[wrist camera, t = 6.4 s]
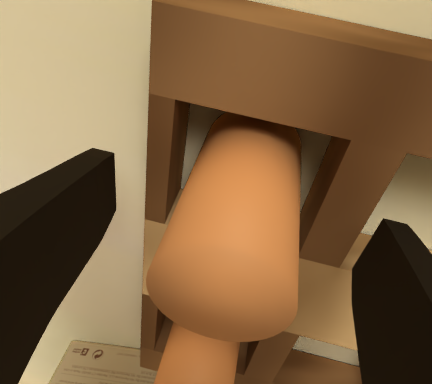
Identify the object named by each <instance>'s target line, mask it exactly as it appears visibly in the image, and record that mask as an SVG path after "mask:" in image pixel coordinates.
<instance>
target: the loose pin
mask: <svg viewBox="0 0 432 384" xmlns="http://www.w3.org/2000/svg"><path fill="white" fill-rule="evenodd" d="M300 185H301V142H300V138H299V135H298V133H297V131H296V129H295V128H294V127H292V126H287V125H283V124H279V123H274V122H270V121H266V120H262V119H257V118H253V117H249V116H244V115H240V114H236V113H231V112H226V113H224V114H223V115H221V116H220V117H219V118H218V119H217V120H216V121H215V122H214V123H213V125H212V126H211V128H210V130H209V132H208V135H207V137H206V139H205V142H204V144H203V146H202V148H201V151H200V153H199V155H198V158H197V160H196V162H195V164H194V167H193V169H192V171H191V174H190V176H189V178H188V180H187V183H186V185H185V187H184V190H183V192H182V194H181V196H180V199H179V201H178V203H177V206H176V208H175V210H174V212H173V215H172V217H171V219H170V221H169V224H168V226H167V228H166V231H165V233H164V235H163V237H162V240H161V242H160V244H159V247H158V249H157V251H156V253H155V256H154V258H153V260H152V263H151V265H150V267H149V269H148V272H147V276H146V287H147V291H148V294H149V296H150V298H151V300H152V301H153V303H154V304H155V305H156V307H157V308H158V309H159V310H160V311H161V312H162V313H163V314H164V315H165V316H166V317H168V318H169V319H170V320H172V321H173V322H175V323H176V324H178V325H180V326H181V327H183V328H185V329H187V330H189V331H191V332H194V333H196V334H199V335H202V336H205V337H209V338H213V339H217V340H223V341H231V342H251V341H258V340H263V339H267V338H270V337H273V336H275V335H277V334H279V333H281V332H282V331H284V330H285V329H287V328H288V327H289V326H290V325H291V323H292V322H293V321H294V319H295V317H296V314H297V310H298V276H299V230H300Z"/></svg>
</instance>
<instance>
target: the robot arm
mask: <svg viewBox="0 0 432 384" xmlns="http://www.w3.org/2000/svg"><path fill="white" fill-rule="evenodd" d="M115 211H116V187H115V160H114V153H112V152H107V151H103V150H99V149H95V148H91V149H89V150H87V151H85V152H83V153H81V154H79V155H77V156H75V157H73V158H71V159H69V160H67V161H65V162H64V163H62V164H60V165H58V166H56V167H54V168H52V169H50V170H48V171H46V172H44V173H42V174H40V175H38V176H36V177H34V178H32V179H30V180H28V181H27V182H25V183H23V184H20V185H18V186H16V187H14V188H12V189H10V190H7V191H5V192H3V193H1V194H0V384H18V383H19V381H20V379H21V376H22V374H23V372H24V370H25V368H26V366H27V364H28V362H29V360H30V358H31V356H32V354H33V352H34V350H35V349H36V347H37V345H38V343H39V341H40V339H41V337H42V335H43V333H44V331H45V329H46V327H47V325H48V324H49V322H50V320H51V318H52V317H53V315H54V313H55V312H56V310H57V308H58V307H59V305H60V304H61V302H62V301H63V299H64V297H65V296H66V294H67V293H68V291H69V290H70V288H71V287H72V285H73V284H74V282H75V281H76V279H77V278H78V276H79V275H80V273H81V271H82V270H83V268H84V267H85V265H86V264H87V262H88V261H89V259H90V258H91V256H92V255H93V253H94V251H95V250H96V248H97V247H98V245H99V244H100V242H101V240H102V239H103V236H104V234H105V232H106V230H107V228H108V226H109V224H110V222H111V220H112V218H113V215H114V213H115ZM351 290H352V311H353V320H354V327H355V335H356V343H357V350H358V357H359V365H360V372H361V379H362V384H432V254H431V252H430V251H429V250H428V249H427V247H426V246H425V245H424V244H423V242H422V241H421V240H420V239H419V237H418V236H417V235H416V234H415V233H414V231H413V230H412V229H411V228H410V227H409V226H408V225H407V224H404V223H400V222H396V221H392V220H388V219H384V218H383V220H382V221H381V223H380V224H379V226H378V228H377V229H376V231H375V232H374V234H373V236H372V237H371V239H370V240H369V242H368V244H367V245H366V247H365V248H364V250H363V252H362V253H361V255H360V256H359V258H358V260H357V261H356V263H355V264H354V266H353V268H352V287H351Z"/></svg>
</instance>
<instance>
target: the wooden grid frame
mask: <svg viewBox="0 0 432 384" xmlns="http://www.w3.org/2000/svg"><path fill="white" fill-rule="evenodd" d="M190 103H193V104H197V105H201V106H205V107H210V108H214V109H218V110H223V111H227V112H231V113H236V114H240V115H244V116H249V117H253V118H257V119H262V120H266V121H270V122H274V123H279V124H283V125H287V126H292V127H296V128H300V129H305V130H309V131H313V132H318V133H322V134H326V135H331V136H332V138H331V141H330V143H329V146H328V148H327V151H326V153H325V155H324V158H323V160H322V163H321V165H320V167H319V170H318V172H317V175H316V177H315V179H314V182H313V184H312V187H311V189H310V192H309V194H308V196H307V199H306V201H305V204H304V206H303V208H302V211H301V213H300V230H299V276H298V310H297V314H296V317H295V319H294V321H293V322H292V323H291V325H290V326H289V327H288V328H287V329H285V330H284V331H282V332H281V333H279V334H277V335H275V336H273V337H270V338H267V339H263V340H258V341H251V342H240V347H239V353H238V360H237V366H236V373H235V379H234V384H362V379H361V372H360V367H357V366H353V365H350V364H346V363H342V362H338V361H335V360H331V359H327V358H323V357H320V356H316V355H312V354H308V353H305V352H301V351H297V350H293V349H292V347H293V346H294V344H295V342H296V341H297V339H298V337H299V336H304V337H308V338H312V339H316V340H319V341H323V342H327V343H331V344H334V345H338V346H342V347H346V348H350V349H353V350H357V343H356V335H355V327H354V320H353V311H352V290H351V287H352V268H353V266H354V264H355V263H356V261H357V260H358V258H359V256H360V255H361V253H362V252H363V250H364V248H365V247H366V245H367V244H368V242H369V240H370V239H371V237H372V236H371V235H367V234H363V233H360V232H361V230H362V229H363V227H364V225H365V224H366V222H367V220H368V219H369V217H370V215H371V214H372V212H373V210H374V208H375V207H376V205H377V203H378V202H379V200H380V198H381V197H382V195H383V193H384V191H385V190H386V188H387V186H388V185H389V183H390V181H391V180H392V178H393V176H394V174H395V173H396V171H397V169H398V168H399V166H400V164H401V163H402V161H403V159H404V158H405V156H406V154H407V153H408V154H413V155H417V156H421V157H425V158H430V159H432V40H431V39H426V38H421V37H417V36H412V35H407V34H402V33H398V32H393V31H388V30H384V29H379V28H374V27H370V26H365V25H360V24H356V23H351V22H346V21H342V20H337V19H332V18H328V17H323V16H318V15H313V14H309V13H304V12H299V11H295V10H290V9H285V8H281V7H276V6H271V5H267V4H262V3H257V2H253V1H248V0H152V16H151V46H150V77H149V107H148V137H147V168H146V198H145V228H144V258H143V289H142V319H141V349H140V367H143V368H147V369H150V370H154V371H158V368H159V365H160V362H161V359H162V356H163V353H164V350H165V347H166V343H167V340H168V337H169V334H170V331H171V328H172V325H173V321H172V320H170V319H169V318H168V317H166V316H165V315H164V314H163V313H162V312H161V311H160V310H159V309H158V308H157V307H156V305H155V304H154V303H153V301H152V300H151V298H150V296H149V294H148V291H147V287H146V276H147V272H148V269H149V267H150V265H151V263H152V260H153V258H154V256H155V253H156V251H157V249H158V247H159V244H160V242H161V240H162V237H163V235H164V233H165V231H166V228H167V226H168V224H169V221H170V219H171V217H172V215H173V212H174V210H175V208H176V206H177V203H178V201H179V199H180V196H181V194H182V192H183V190H184V189H180V188H181V179H182V170H183V161H184V153H185V144H186V135H187V126H188V117H189V108H190ZM429 251H430V252H431V254H432V250H429ZM357 351H358V350H357Z"/></svg>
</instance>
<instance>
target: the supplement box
mask: <svg viewBox="0 0 432 384" xmlns="http://www.w3.org/2000/svg"><path fill="white" fill-rule="evenodd" d="M157 372H158V371H154V370H150V369H147V368H143V367H140V349H136V348H129V347H122V346H115V345H108V344H100V343H93V342H84V341H72V342H71V343H70V345H69V347H68V349H67V350H66V352H65V354H64V356H63V358H62V360H61V362H60V363H59V365H58V367H57V369H56V370H55V372H54V374H53V376H52V378H51V380H50V382H49V383H48V384H154V381H155V378H156V375H157Z"/></svg>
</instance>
